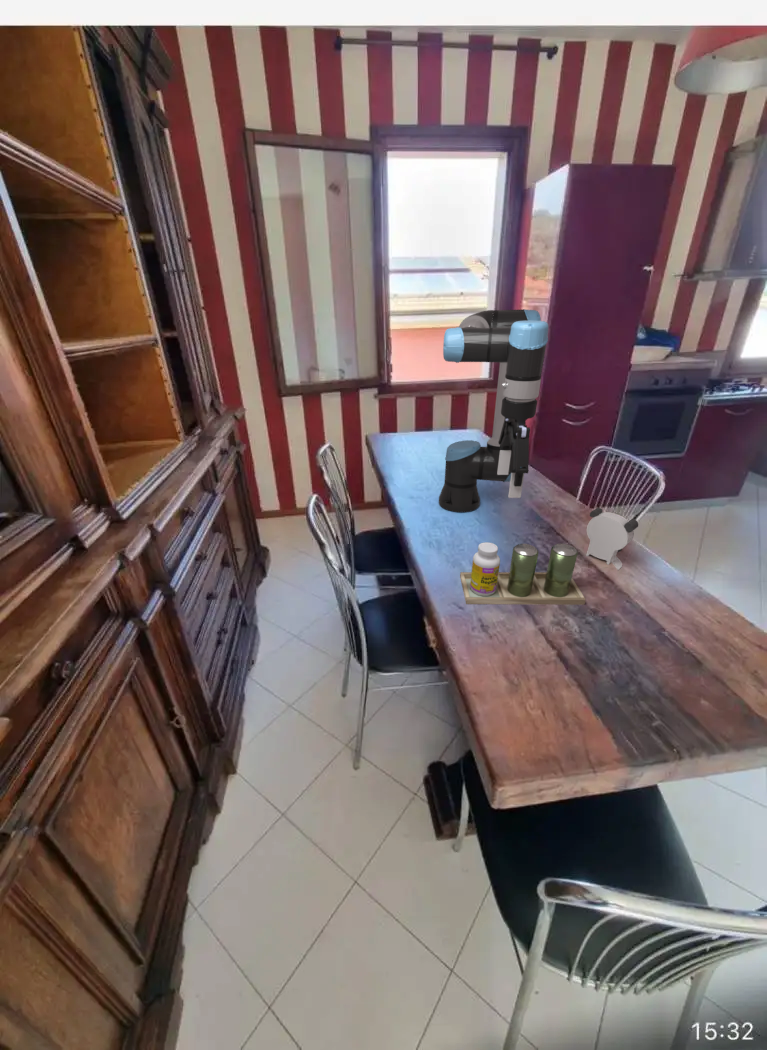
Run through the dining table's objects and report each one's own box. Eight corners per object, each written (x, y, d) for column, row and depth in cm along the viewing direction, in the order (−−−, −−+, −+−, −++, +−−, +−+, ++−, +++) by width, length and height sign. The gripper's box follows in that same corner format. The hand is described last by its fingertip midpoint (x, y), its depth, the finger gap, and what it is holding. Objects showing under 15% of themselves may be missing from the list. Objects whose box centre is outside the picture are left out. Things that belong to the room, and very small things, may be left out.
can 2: (540, 583, 111) (548, 543, 105) (563, 583, 111) (572, 542, 105) (547, 597, 106) (556, 555, 100) (571, 597, 105) (582, 555, 99)
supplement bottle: (477, 599, 105) (481, 556, 99) (465, 584, 111) (469, 542, 105) (500, 594, 107) (507, 551, 101) (488, 579, 112) (493, 538, 106)
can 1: (504, 583, 111) (510, 543, 105) (527, 583, 111) (534, 543, 105) (510, 597, 106) (516, 555, 100) (534, 597, 106) (542, 555, 100)
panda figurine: (630, 562, 120) (645, 516, 113) (613, 578, 114) (628, 530, 107) (589, 546, 128) (600, 502, 121) (571, 560, 122) (582, 514, 115)
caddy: (459, 579, 115) (460, 572, 113) (566, 579, 114) (568, 572, 112) (465, 607, 104) (466, 599, 103) (583, 607, 103) (585, 599, 102)
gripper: (492, 386, 104) (484, 466, 115) (515, 413, 82) (503, 508, 93) (523, 385, 104) (512, 466, 114) (554, 412, 82) (537, 508, 93)
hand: (508, 485), depth 104 cm, fingers open, 13 cm apart
